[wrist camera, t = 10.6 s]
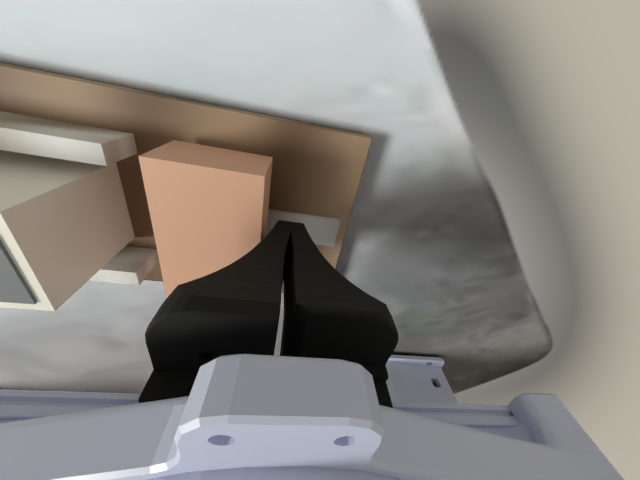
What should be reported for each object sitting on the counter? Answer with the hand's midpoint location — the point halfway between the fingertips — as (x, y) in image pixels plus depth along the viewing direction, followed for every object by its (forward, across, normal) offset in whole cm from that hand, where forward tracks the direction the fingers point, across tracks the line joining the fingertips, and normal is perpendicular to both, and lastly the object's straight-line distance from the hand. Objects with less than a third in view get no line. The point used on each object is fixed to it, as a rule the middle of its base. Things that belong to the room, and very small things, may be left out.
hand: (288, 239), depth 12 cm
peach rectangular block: (+1, +3, 0) cm, 3 cm away
